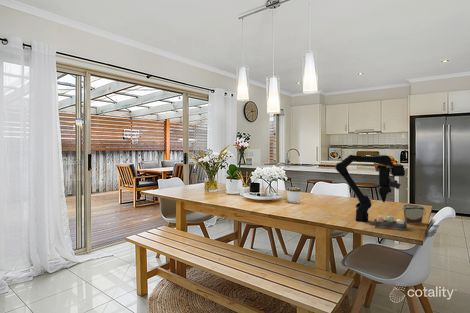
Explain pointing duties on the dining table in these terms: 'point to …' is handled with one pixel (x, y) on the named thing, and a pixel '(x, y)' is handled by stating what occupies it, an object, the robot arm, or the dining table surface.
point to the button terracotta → (380, 219)
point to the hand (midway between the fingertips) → (383, 201)
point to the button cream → (399, 221)
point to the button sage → (390, 219)
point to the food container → (413, 213)
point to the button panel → (390, 225)
